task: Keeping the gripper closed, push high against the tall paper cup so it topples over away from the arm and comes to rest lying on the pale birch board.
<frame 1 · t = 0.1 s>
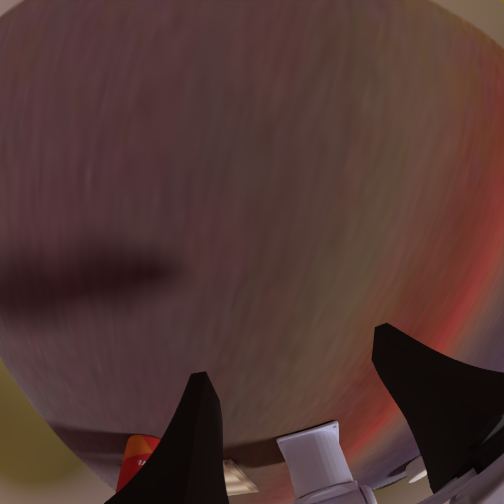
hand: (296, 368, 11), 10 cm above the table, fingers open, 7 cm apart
ramekin: (419, 457, 48), on the table
birch board: (193, 481, 34), on the table
paper cup: (148, 443, 28), on the table
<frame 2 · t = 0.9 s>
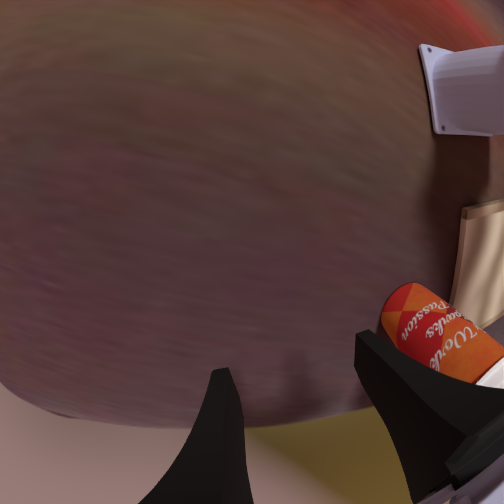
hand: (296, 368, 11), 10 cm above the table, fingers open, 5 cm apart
birch board: (491, 270, 25), on the table
paper cup: (402, 306, 24), on the table
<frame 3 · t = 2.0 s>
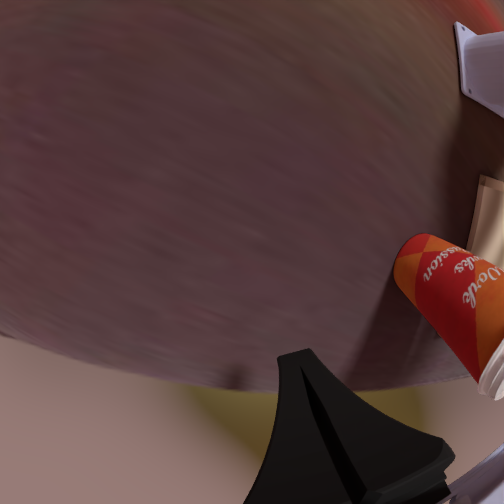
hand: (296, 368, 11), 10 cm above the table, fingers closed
birch board: (497, 259, 24), on the table
paper cup: (415, 261, 22), on the table
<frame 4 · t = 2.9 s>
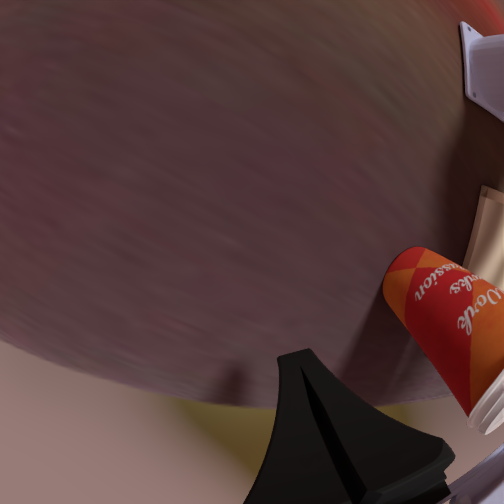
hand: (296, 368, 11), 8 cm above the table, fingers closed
birch board: (495, 275, 22), on the table
paper cup: (407, 276, 20), on the table
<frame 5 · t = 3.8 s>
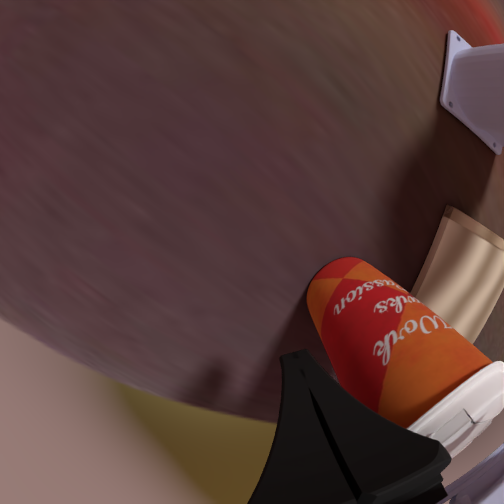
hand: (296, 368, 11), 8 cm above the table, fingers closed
birch board: (453, 310, 23), on the table
paper cup: (339, 289, 20), on the table, touching gripper
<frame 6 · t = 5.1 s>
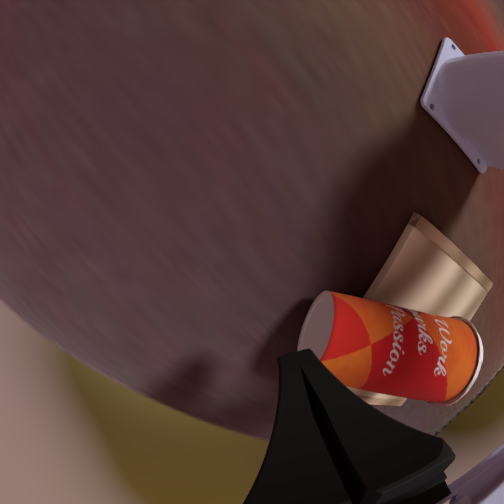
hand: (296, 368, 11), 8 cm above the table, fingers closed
birch board: (409, 333, 23), on the table
paper cup: (310, 332, 17), point 3 cm above the table, touching birch board
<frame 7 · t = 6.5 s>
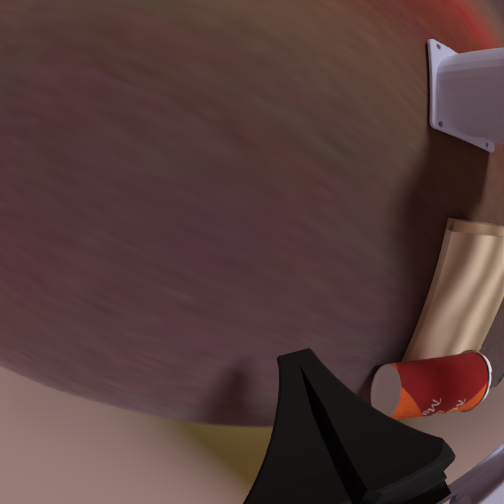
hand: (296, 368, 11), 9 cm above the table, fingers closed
birch board: (468, 300, 24), on the table
paper cup: (382, 391, 22), point 3 cm above the table, touching birch board
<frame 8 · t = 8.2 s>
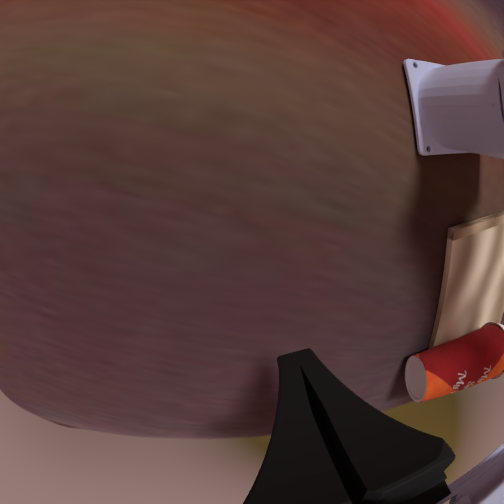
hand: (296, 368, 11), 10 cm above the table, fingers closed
birch board: (480, 285, 25), on the table
paper cup: (413, 379, 24), point 3 cm above the table, touching birch board
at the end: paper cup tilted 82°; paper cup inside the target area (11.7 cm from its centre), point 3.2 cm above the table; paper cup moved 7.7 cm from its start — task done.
